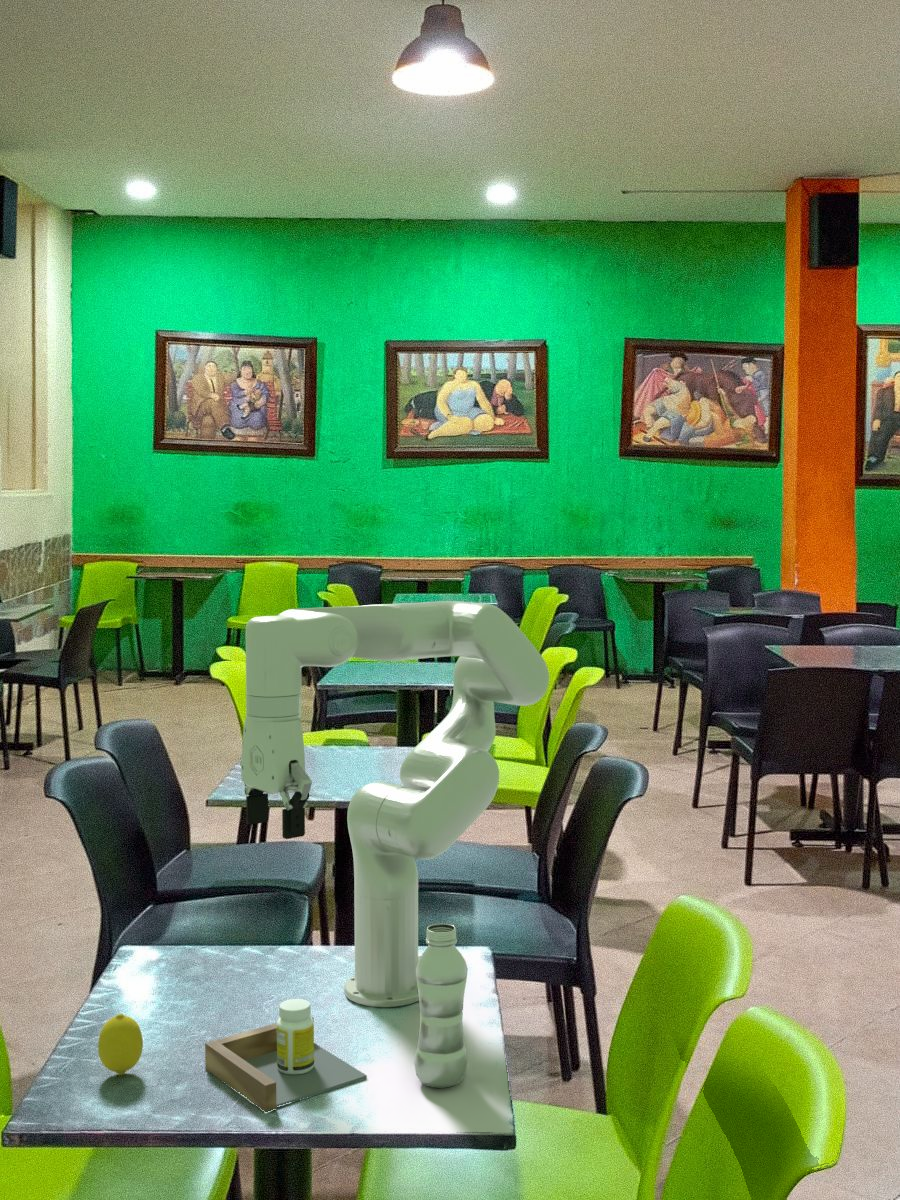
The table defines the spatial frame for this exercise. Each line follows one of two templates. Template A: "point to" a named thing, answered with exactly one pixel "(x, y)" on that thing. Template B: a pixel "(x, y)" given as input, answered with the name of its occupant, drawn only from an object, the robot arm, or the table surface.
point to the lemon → (120, 1044)
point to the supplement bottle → (295, 1037)
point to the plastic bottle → (441, 1009)
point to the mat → (307, 1075)
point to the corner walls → (245, 1064)
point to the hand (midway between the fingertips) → (275, 829)
